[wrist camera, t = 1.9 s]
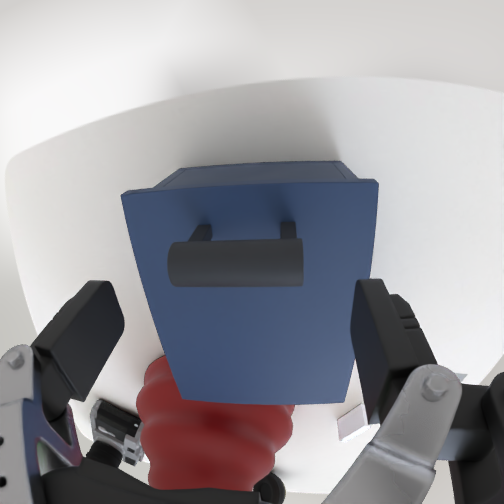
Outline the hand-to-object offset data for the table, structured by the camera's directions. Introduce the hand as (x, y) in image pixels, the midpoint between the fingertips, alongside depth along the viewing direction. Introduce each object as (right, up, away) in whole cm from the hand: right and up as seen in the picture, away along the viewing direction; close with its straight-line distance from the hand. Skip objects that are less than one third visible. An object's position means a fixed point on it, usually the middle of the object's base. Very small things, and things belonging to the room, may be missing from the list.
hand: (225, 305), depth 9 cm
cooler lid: (+1, -2, +9) cm, 9 cm away
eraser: (+15, -20, +27) cm, 37 cm away
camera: (-22, -30, +36) cm, 52 cm away
